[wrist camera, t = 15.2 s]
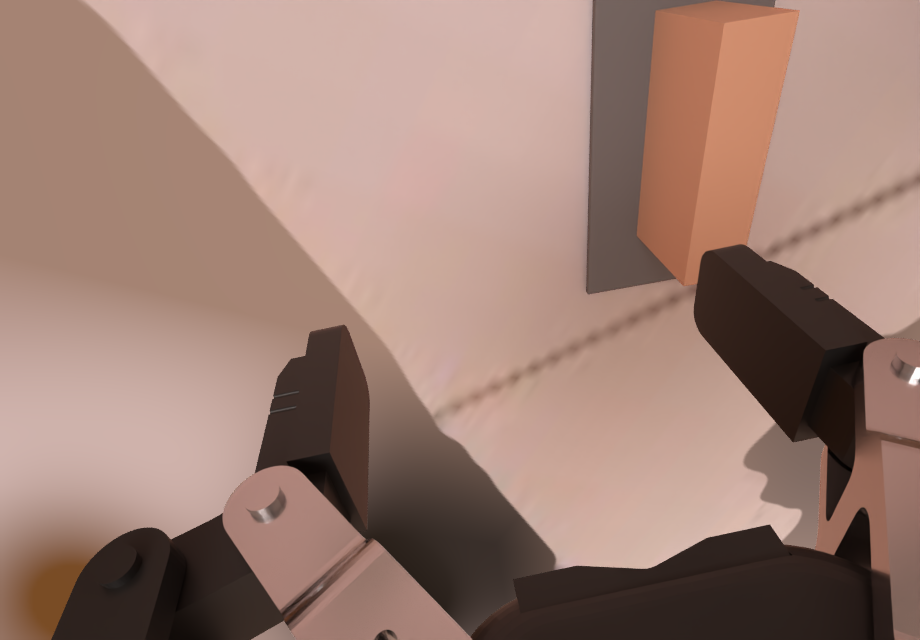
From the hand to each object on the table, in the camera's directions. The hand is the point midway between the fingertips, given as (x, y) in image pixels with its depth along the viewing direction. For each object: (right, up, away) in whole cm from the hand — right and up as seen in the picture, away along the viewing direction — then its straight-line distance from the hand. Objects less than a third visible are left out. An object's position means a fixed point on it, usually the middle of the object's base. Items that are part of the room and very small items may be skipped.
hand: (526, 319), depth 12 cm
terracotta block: (+14, +14, +26) cm, 32 cm away
